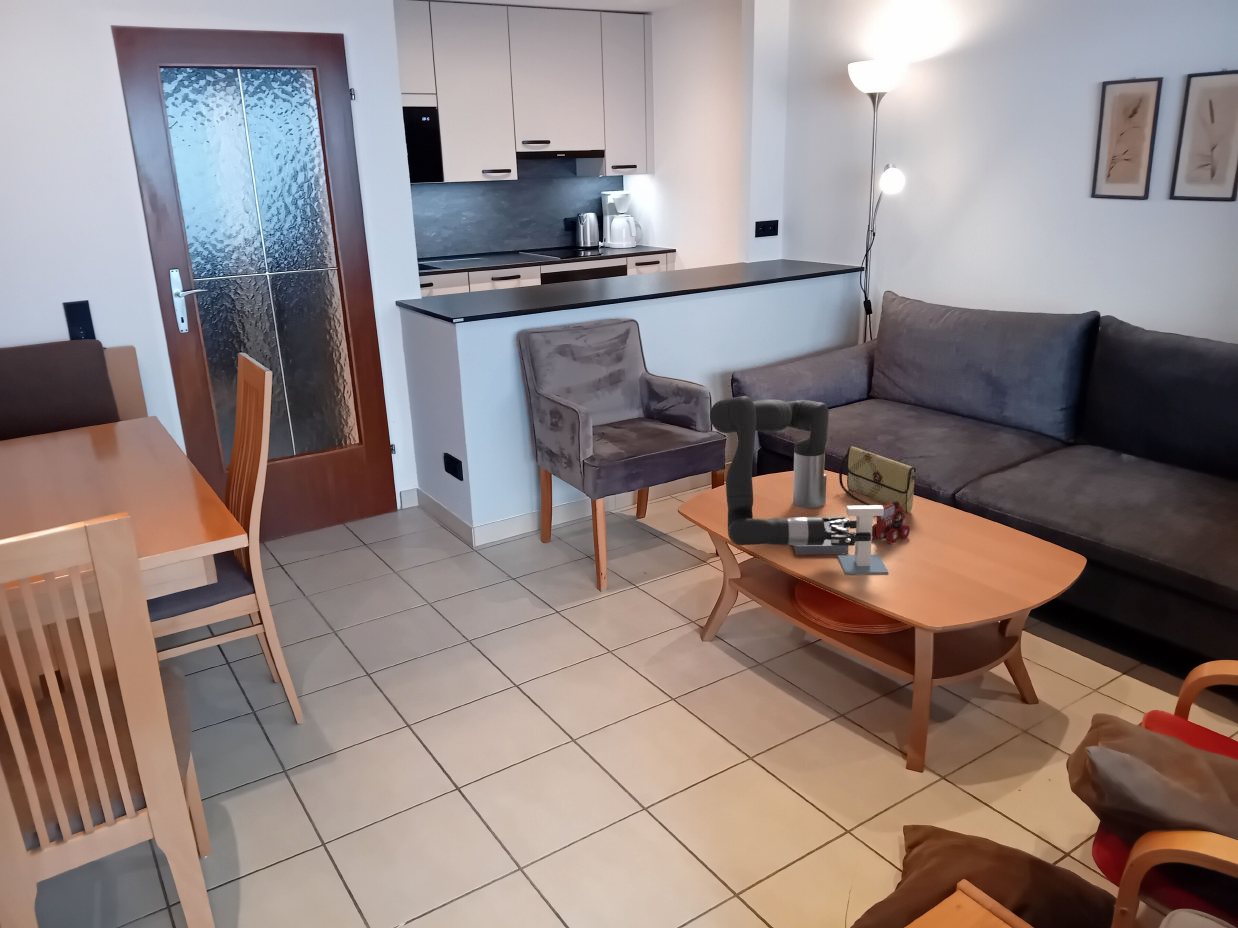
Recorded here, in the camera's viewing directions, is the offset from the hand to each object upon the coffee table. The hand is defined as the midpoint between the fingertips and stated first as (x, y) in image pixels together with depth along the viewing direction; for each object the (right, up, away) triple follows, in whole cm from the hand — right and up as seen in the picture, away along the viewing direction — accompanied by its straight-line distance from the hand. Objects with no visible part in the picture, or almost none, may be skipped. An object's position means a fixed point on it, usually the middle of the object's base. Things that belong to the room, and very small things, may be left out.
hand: (867, 530), depth 230 cm
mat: (0, -10, +3) cm, 10 cm away
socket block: (-9, -5, +17) cm, 20 cm away
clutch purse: (+15, +5, +46) cm, 48 cm away
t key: (0, -9, +3) cm, 10 cm away
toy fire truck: (+12, -4, +20) cm, 23 cm away
